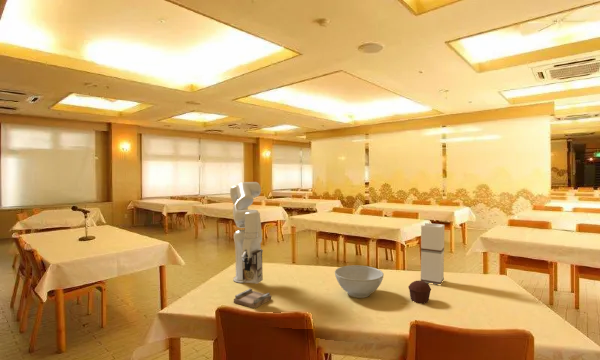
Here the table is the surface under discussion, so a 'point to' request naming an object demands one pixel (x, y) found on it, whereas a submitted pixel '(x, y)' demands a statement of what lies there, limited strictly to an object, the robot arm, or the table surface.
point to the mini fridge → (432, 253)
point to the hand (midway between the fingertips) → (252, 268)
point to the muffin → (419, 291)
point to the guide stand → (251, 298)
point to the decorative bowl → (359, 280)
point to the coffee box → (253, 268)
